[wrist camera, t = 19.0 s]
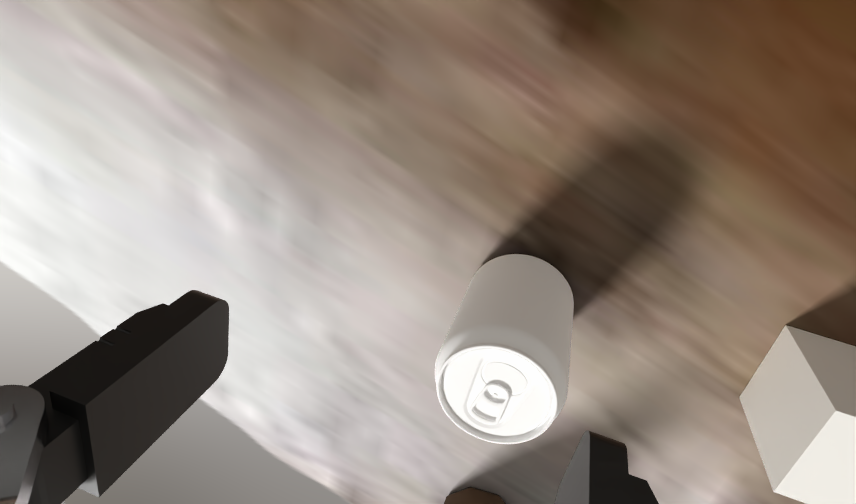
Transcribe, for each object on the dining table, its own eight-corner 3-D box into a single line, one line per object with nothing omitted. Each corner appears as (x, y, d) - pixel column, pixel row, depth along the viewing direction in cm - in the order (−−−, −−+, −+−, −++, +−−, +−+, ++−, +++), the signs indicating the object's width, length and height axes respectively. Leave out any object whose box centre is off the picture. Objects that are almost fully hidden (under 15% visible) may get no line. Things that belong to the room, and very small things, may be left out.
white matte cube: (785, 325, 37) (835, 410, 29) (892, 357, 35) (973, 455, 28) (739, 397, 40) (773, 491, 32) (835, 429, 39) (895, 534, 31)
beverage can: (593, 278, 39) (592, 379, 29) (545, 357, 43) (529, 471, 33) (493, 233, 40) (456, 315, 29) (455, 314, 44) (410, 412, 33)
